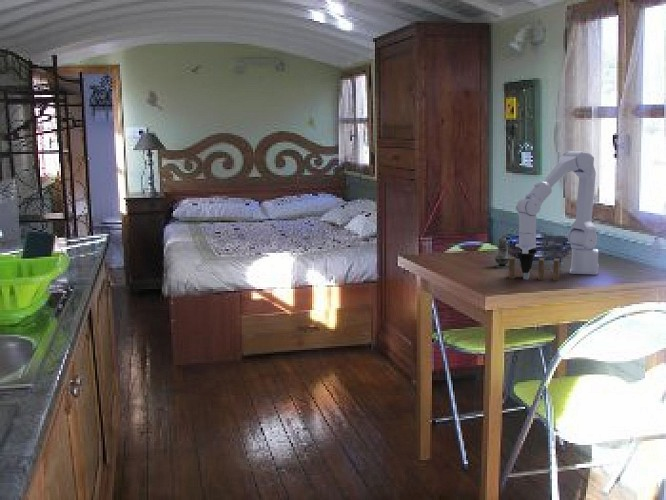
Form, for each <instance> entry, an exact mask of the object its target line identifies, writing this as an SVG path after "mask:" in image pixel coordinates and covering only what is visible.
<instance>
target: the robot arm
mask: <svg viewBox="0 0 666 500" xmlns="http://www.w3.org/2000/svg"><path fill="white" fill-rule="evenodd" d="M594 161H595V157H594V156H593V155H592V154H591V153H590V152H589V151H587V150H586V151H585V150H583V151H579V150H578V151H577V150H575V151H574V150H573V151H572V150H566V151H565V152H564V153H563V154H562V156H560V157H559V159H558V163H557V164H556V165H555V166H554V168H553V169H552V170H551V171H550V173H549V174H548V176H546V177H545V179H544V180H543V181H538V182H535V184H534V187H533V188H532V189H531V190H530V191H529V192H528V193H526V195H525V196H524V197H522V198H521V199H519V200H518V202H517V205H516V206H515V210H516V211H517V214H518V218H519V220H518V221H519V224H518V243H516V244H515V246H514V247H516V248H519V249H520V251H519V252H516V253H517V257H518V259H519V261H520V267H521V272H522V273H529V274H530V270H531V269H532V266H533V260H534V257H535V254H536V252H537V250H538V249H537V242H536V241H537V214H538V213H540V211H541V206H542V204H543V203H544V202H545V201H546V200H547V199H548V197H549V196H550V195H551V194H552V191H553V190H552V188H553V187H554V186H555V184H556V183H558V182H559V181H560V180H561V179H562V178H563V177H564V175H566V174H567V173H570V172H573V173H574V174H575V175H576V176H577V177H578V186H577V187H578V188H577V200H576V212H575V221H574V222H573V223H572V224H571V225H570V230H569V232H568V235H567V241H568V244H569V245H570V248H571V261H570V262H571V266H570V269H569V274H572V275H573V274H575V275H576V274H577V275H594V276H596V275H598V271H599V269H600V267H599V266H600V264H599V249H598V248H595V247H596V245H597V244H598V235H597V227H596V226H595V224H593V221H592V220H593V211H594V209H593V208H594V197H595V186H596V185H595V183H596V175H597V174H596V168H595V165H594V163H595V162H594Z"/></svg>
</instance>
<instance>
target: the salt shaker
mask: <svg viewBox="0 0 666 500" xmlns="http://www.w3.org/2000/svg"><path fill="white" fill-rule="evenodd" d="M507 243H508V241H507V238H505V237H504V235H502V237H501V238H499V239H498V247H497V249H498V250H497V251H498V253H497V255H496V256H494V259H495V263H496V265H495V266H494V267H495V268H496V269H497V268H498V269H509V264H508V263H509V259H510V257H511V256H508V253H507V249H508V246H507Z"/></svg>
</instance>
